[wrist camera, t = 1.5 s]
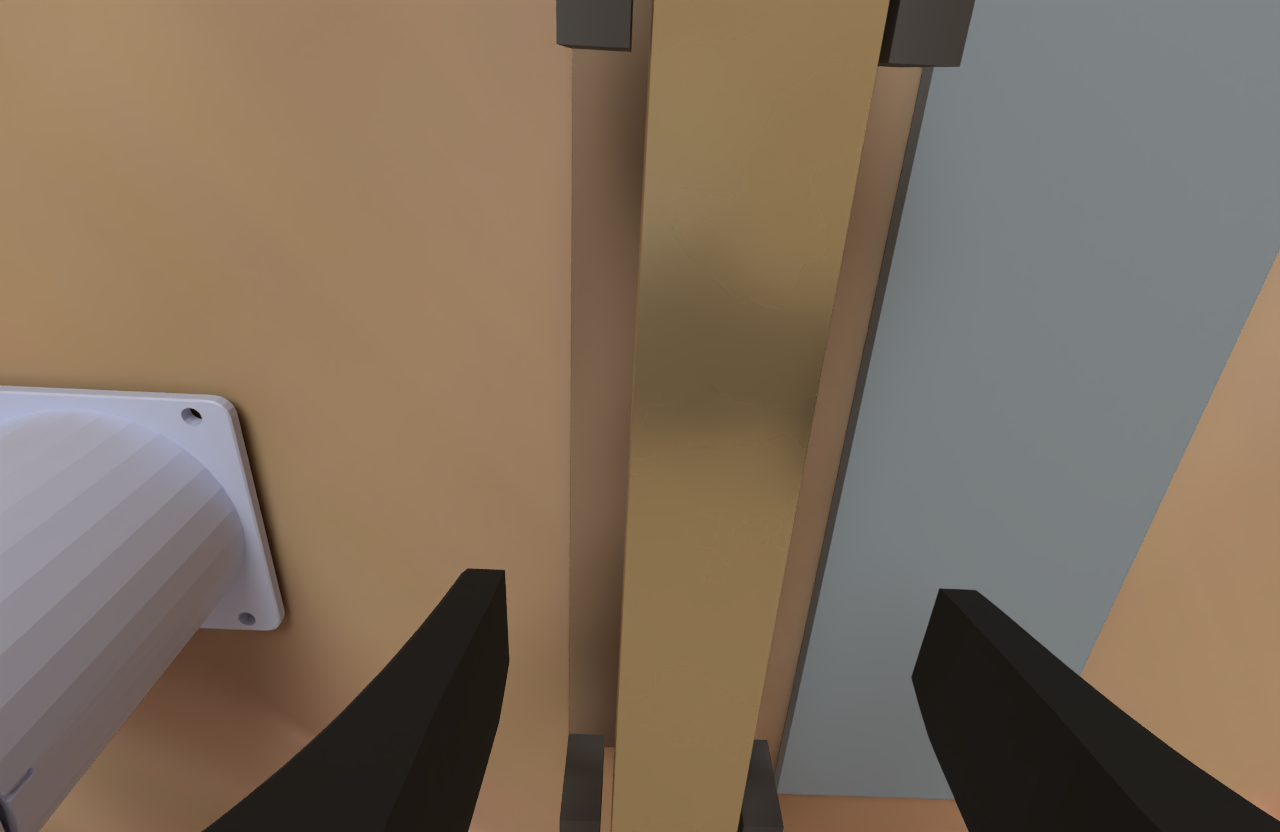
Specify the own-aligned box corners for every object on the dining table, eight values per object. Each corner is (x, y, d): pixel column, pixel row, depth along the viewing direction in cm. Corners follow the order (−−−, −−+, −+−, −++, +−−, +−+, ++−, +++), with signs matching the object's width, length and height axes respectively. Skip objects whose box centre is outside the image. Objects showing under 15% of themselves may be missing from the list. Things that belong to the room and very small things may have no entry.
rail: (610, 833, 21) (606, 943, 19) (667, -309, 10) (677, -454, 7) (706, 836, 21) (715, 946, 19) (878, -295, 10) (968, -431, 7)
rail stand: (571, 715, 24) (552, 900, 19) (579, -154, 13) (537, -305, 8) (743, 721, 24) (772, 907, 19) (888, -135, 13) (1055, -271, 8)
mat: (773, 778, 26) (776, 793, 25) (1009, -344, 12) (1027, -363, 11) (1013, 786, 26) (1020, 801, 25) (1508, -308, 12) (1548, -325, 12)
